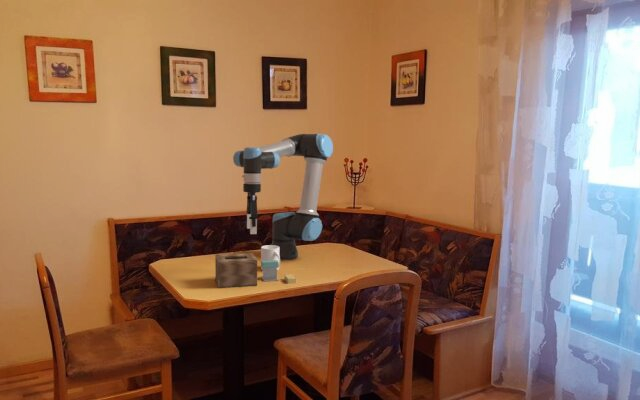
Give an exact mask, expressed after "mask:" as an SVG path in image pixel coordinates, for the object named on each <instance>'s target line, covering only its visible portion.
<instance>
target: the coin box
mask: <svg viewBox="0 0 640 400" xmlns="http://www.w3.org/2000/svg"><path fill="white" fill-rule="evenodd" d="M214 255H215V258H214V260H215V265H214V266H215V268H214V269H215V282H216V286H217V288H218V289H227V288H230V289H231V288H243V287H244V288H245V287H256V286H257V287H258V258H257V257H256V256H255V255H254V253H253V252H250V253H226V254H214Z"/></svg>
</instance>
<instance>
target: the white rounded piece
mask: <svg viewBox="0 0 640 400" xmlns="http://www.w3.org/2000/svg"><path fill="white" fill-rule="evenodd" d="M279 251H280V247H279V246H275V245H272V244H269V245H267V244H266V245H262V246H261V247H260V262H261V261H266V260H277V261H278V262H279V263H278V267H277V271H279V269H280V265H281V259H280V256H279ZM260 269H261V270H262V271H263V268H262V267H261V266H260Z"/></svg>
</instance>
